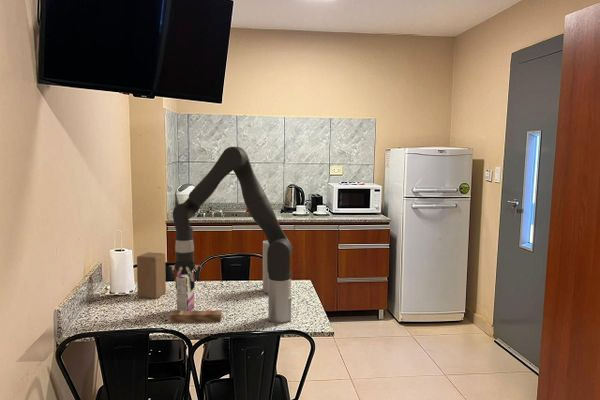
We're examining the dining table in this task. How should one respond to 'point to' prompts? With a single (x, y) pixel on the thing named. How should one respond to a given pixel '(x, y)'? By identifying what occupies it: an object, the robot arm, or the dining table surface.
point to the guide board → (196, 316)
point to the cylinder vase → (265, 268)
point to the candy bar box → (184, 293)
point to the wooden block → (151, 275)
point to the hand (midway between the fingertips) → (185, 289)
